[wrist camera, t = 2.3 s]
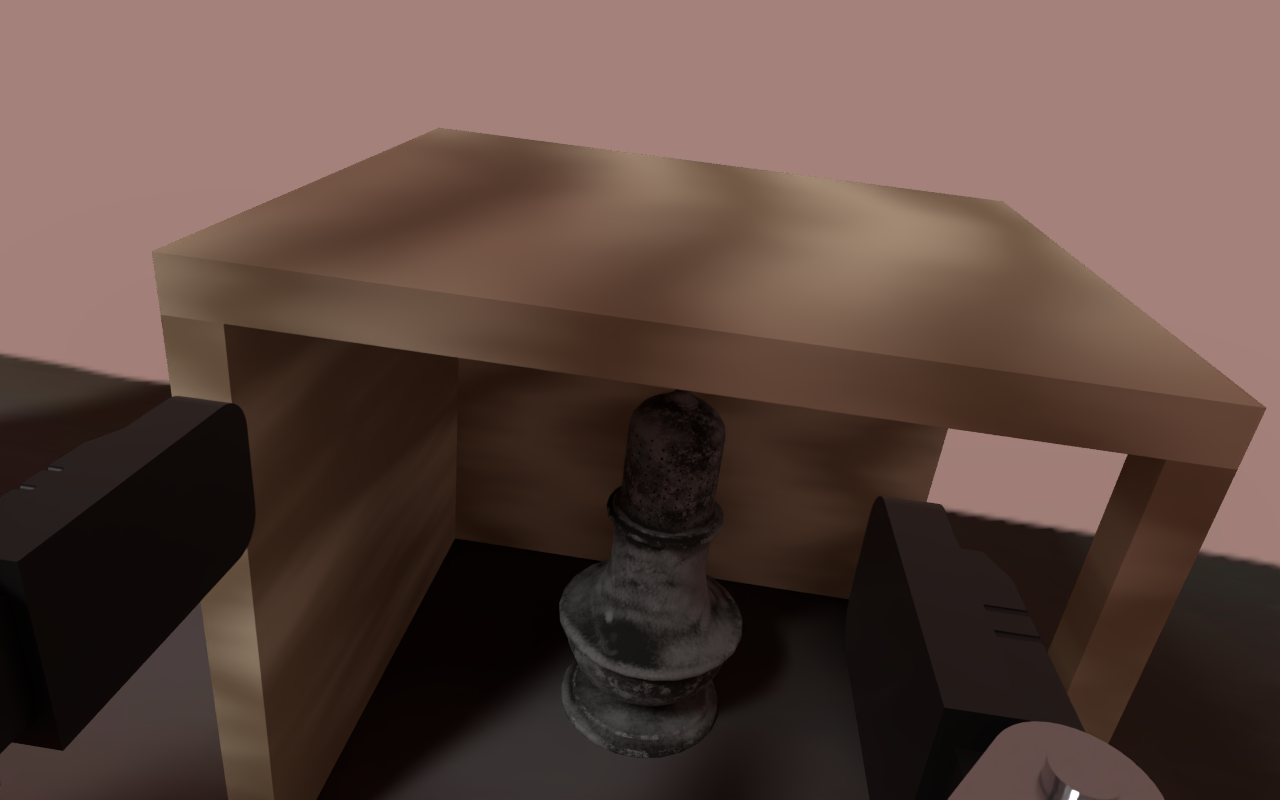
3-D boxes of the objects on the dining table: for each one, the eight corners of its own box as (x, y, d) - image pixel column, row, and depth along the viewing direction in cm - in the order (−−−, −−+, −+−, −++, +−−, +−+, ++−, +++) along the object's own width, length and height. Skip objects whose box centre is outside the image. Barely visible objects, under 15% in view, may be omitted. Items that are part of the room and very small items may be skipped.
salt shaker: (695, 628, 32) (747, 331, 27) (751, 753, 27) (827, 417, 22) (539, 642, 31) (563, 329, 26) (568, 777, 26) (604, 421, 21)
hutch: (236, 858, 22) (152, 251, 15) (436, 518, 37) (439, 127, 30) (991, 991, 21) (1266, 407, 14) (890, 588, 36) (1002, 201, 29)
